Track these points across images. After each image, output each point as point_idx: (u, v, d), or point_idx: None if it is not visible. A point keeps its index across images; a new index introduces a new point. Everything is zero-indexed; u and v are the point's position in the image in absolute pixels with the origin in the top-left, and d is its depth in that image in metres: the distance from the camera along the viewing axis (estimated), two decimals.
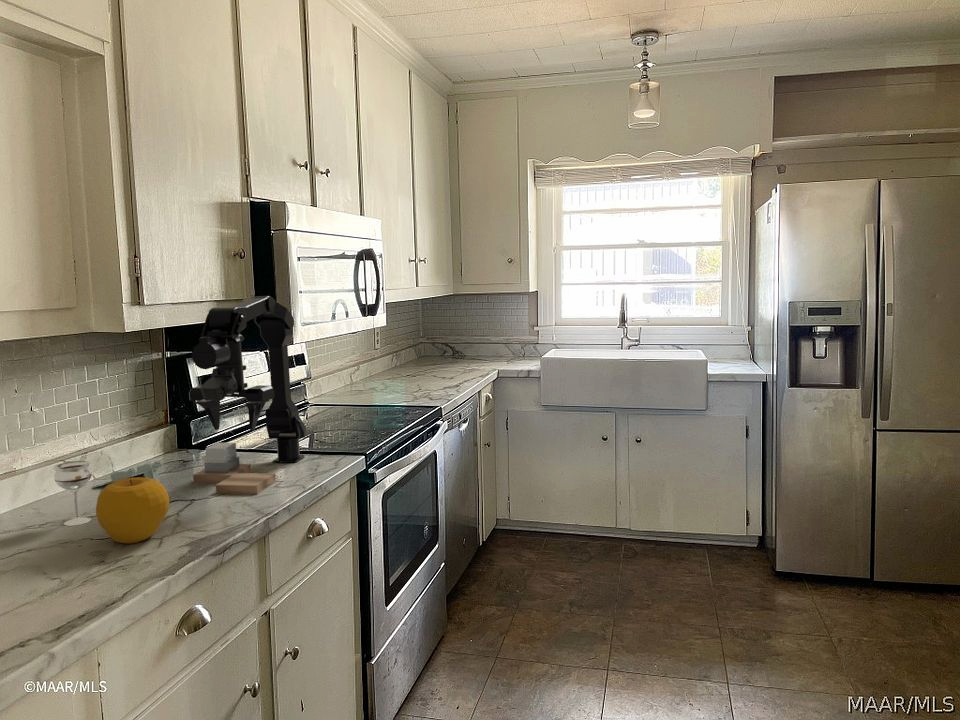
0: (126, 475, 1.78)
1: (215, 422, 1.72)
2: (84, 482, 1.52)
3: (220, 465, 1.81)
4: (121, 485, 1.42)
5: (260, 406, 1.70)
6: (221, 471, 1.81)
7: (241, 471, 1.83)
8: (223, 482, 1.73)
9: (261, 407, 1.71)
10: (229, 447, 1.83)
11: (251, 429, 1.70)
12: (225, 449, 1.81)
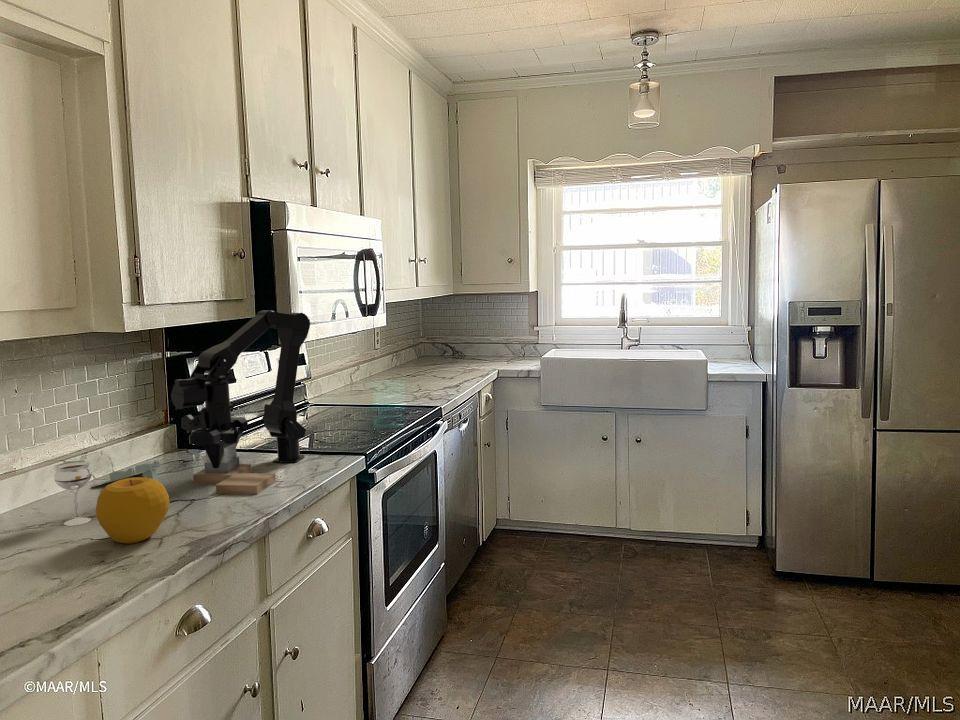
0: (125, 474, 1.78)
1: None
2: (84, 482, 1.52)
3: (220, 465, 1.81)
4: (121, 485, 1.42)
5: (216, 448, 1.78)
6: (221, 471, 1.81)
7: (241, 471, 1.83)
8: (223, 482, 1.73)
9: (217, 449, 1.78)
10: (229, 447, 1.83)
11: (213, 466, 1.81)
12: (225, 449, 1.81)
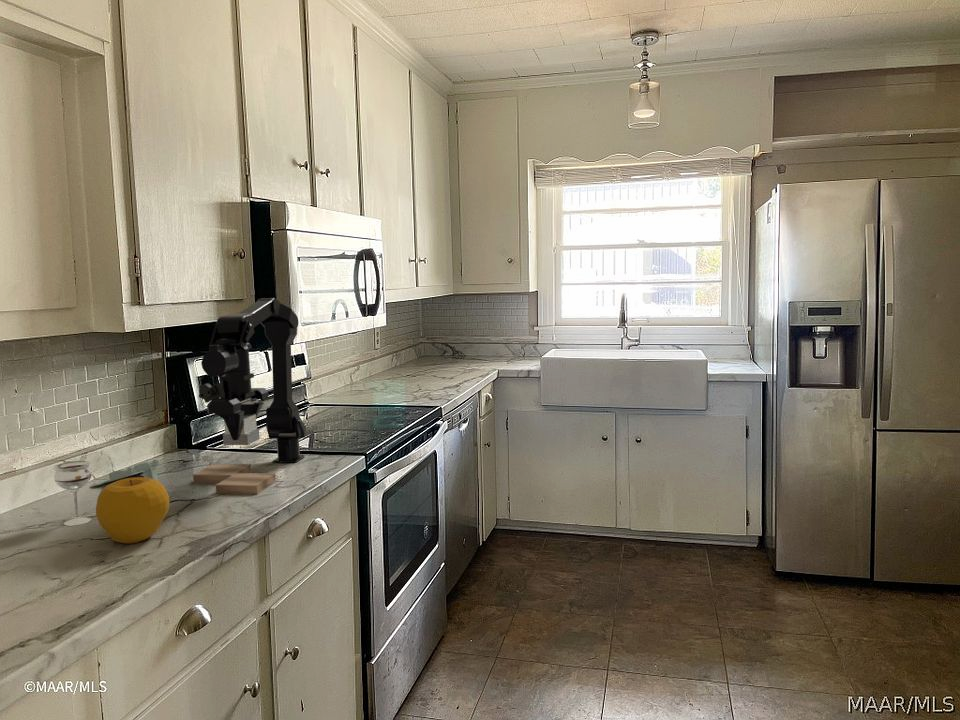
0: (125, 474, 1.79)
1: None
2: (84, 482, 1.52)
3: (240, 436, 1.71)
4: (121, 485, 1.42)
5: (235, 418, 1.68)
6: (240, 443, 1.71)
7: (241, 471, 1.83)
8: (223, 482, 1.73)
9: (237, 419, 1.68)
10: (249, 418, 1.73)
11: (232, 438, 1.71)
12: (245, 420, 1.71)
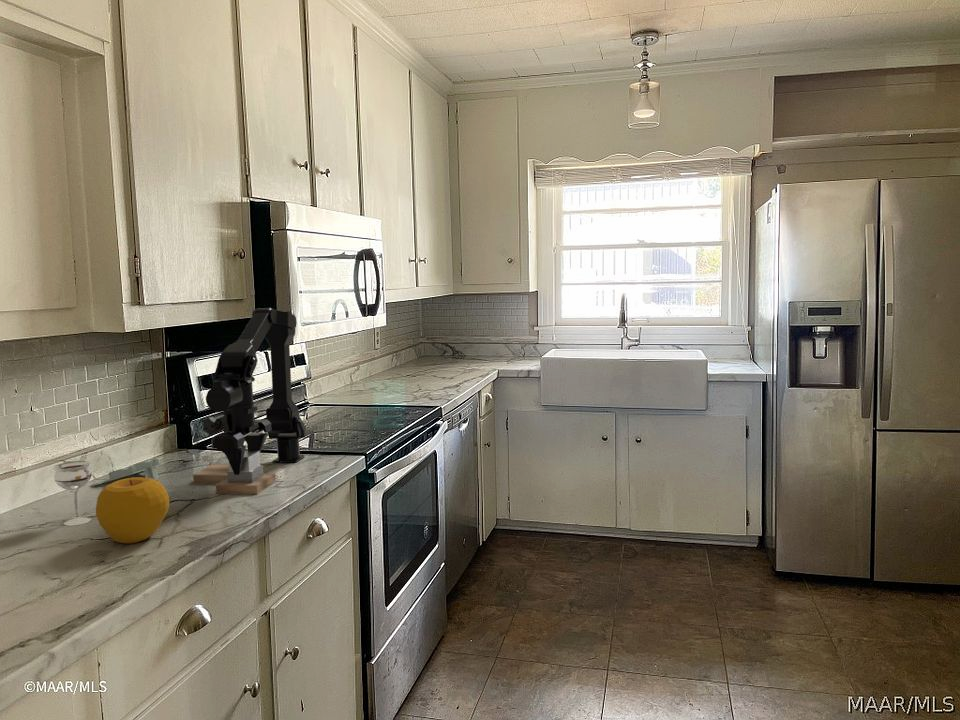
0: (126, 473, 1.80)
1: None
2: (84, 482, 1.52)
3: (244, 474, 1.72)
4: (121, 485, 1.42)
5: (237, 453, 1.68)
6: (245, 481, 1.72)
7: None
8: (223, 482, 1.73)
9: (239, 454, 1.68)
10: (253, 455, 1.74)
11: (234, 472, 1.70)
12: (249, 458, 1.72)
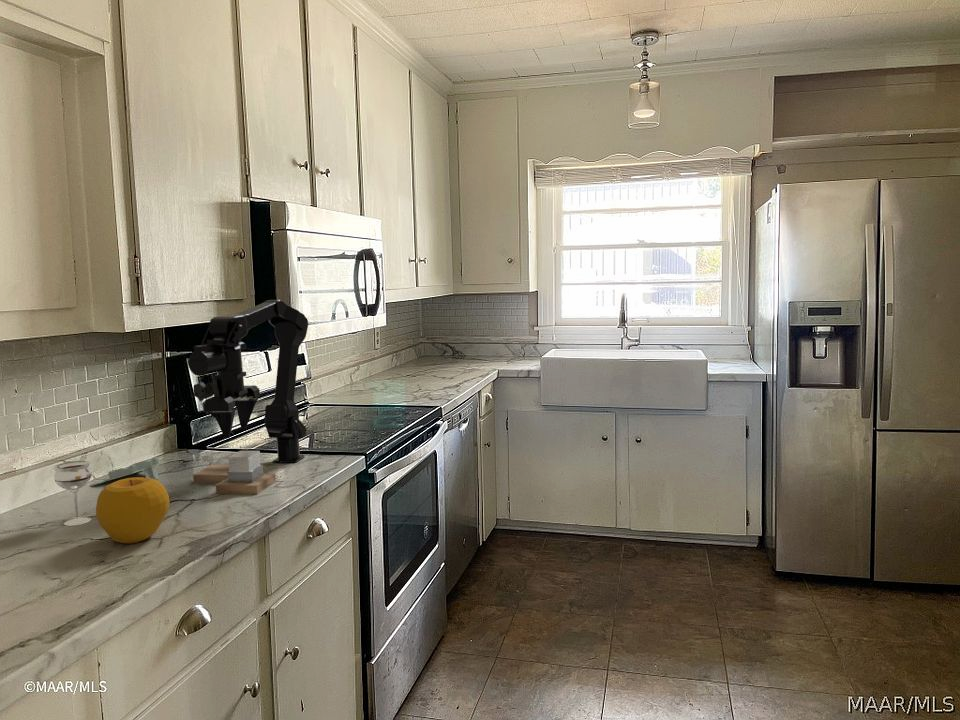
0: (126, 472, 1.81)
1: (239, 421, 1.84)
2: (84, 482, 1.52)
3: (244, 474, 1.72)
4: (121, 485, 1.42)
5: (227, 417, 1.73)
6: (245, 481, 1.72)
7: None
8: (223, 482, 1.73)
9: (228, 418, 1.73)
10: (253, 455, 1.74)
11: None
12: (249, 458, 1.72)
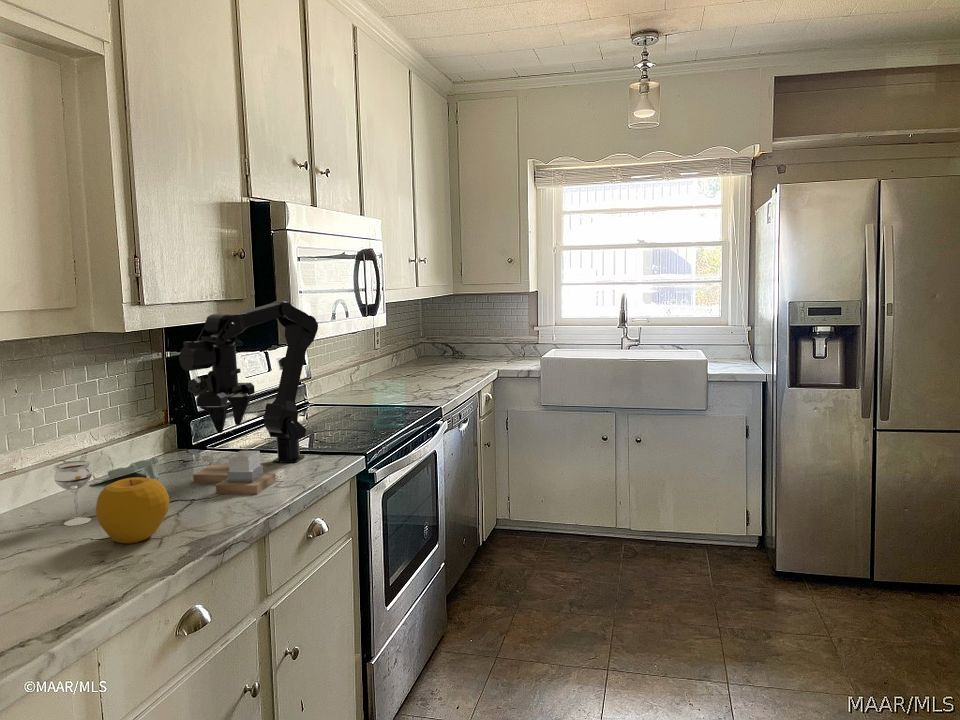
0: (126, 471, 1.81)
1: (234, 417, 1.88)
2: (84, 482, 1.52)
3: (244, 474, 1.72)
4: (121, 485, 1.42)
5: (220, 412, 1.77)
6: (245, 481, 1.72)
7: None
8: (223, 482, 1.73)
9: (221, 413, 1.77)
10: (253, 455, 1.74)
11: None
12: (249, 458, 1.72)
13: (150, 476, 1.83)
